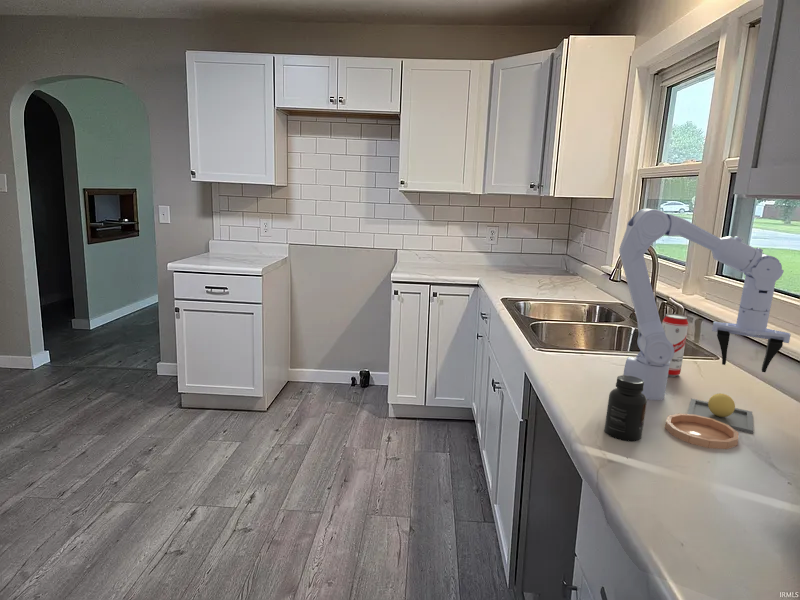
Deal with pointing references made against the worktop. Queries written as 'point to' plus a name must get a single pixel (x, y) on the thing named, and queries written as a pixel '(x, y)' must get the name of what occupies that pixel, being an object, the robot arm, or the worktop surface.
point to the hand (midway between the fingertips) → (743, 367)
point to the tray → (736, 420)
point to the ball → (721, 405)
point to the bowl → (702, 431)
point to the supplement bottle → (626, 409)
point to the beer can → (676, 340)
